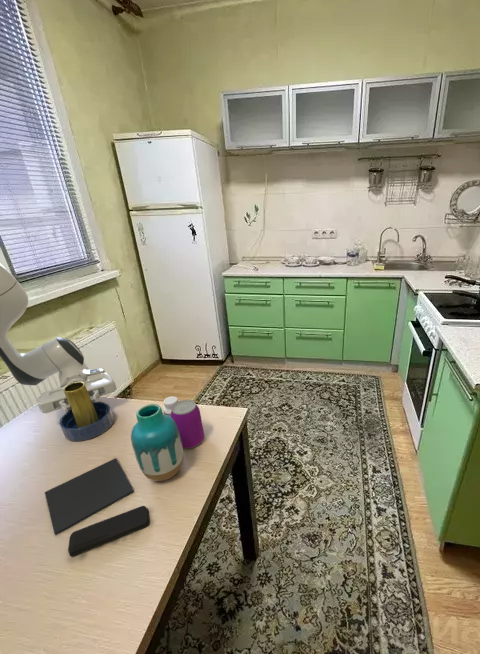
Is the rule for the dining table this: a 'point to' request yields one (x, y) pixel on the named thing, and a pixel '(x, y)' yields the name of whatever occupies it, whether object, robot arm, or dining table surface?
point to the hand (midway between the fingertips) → (81, 405)
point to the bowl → (91, 430)
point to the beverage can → (188, 423)
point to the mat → (86, 495)
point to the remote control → (108, 530)
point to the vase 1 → (81, 404)
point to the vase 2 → (156, 443)
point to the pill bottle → (169, 405)
